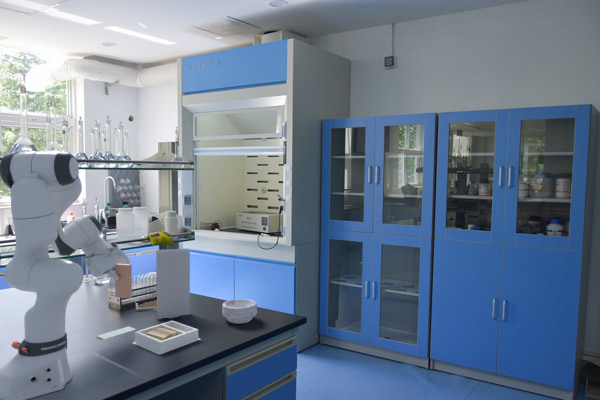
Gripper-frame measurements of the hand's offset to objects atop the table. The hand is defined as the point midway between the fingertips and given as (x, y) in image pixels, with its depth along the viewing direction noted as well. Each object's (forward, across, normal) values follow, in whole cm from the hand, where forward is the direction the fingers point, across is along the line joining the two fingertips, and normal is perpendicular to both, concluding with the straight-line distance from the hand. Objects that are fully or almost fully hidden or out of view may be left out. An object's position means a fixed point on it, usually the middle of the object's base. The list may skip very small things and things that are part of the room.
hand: (121, 278), depth 180 cm
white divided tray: (+31, -3, +1) cm, 32 cm away
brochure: (+22, +27, +11) cm, 37 cm away
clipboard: (+10, +44, +24) cm, 51 cm away
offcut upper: (+28, -5, 0) cm, 29 cm away
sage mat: (+17, -1, +16) cm, 23 cm away
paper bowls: (+44, +29, -11) cm, 54 cm away
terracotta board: (+6, 0, +5) cm, 7 cm away
